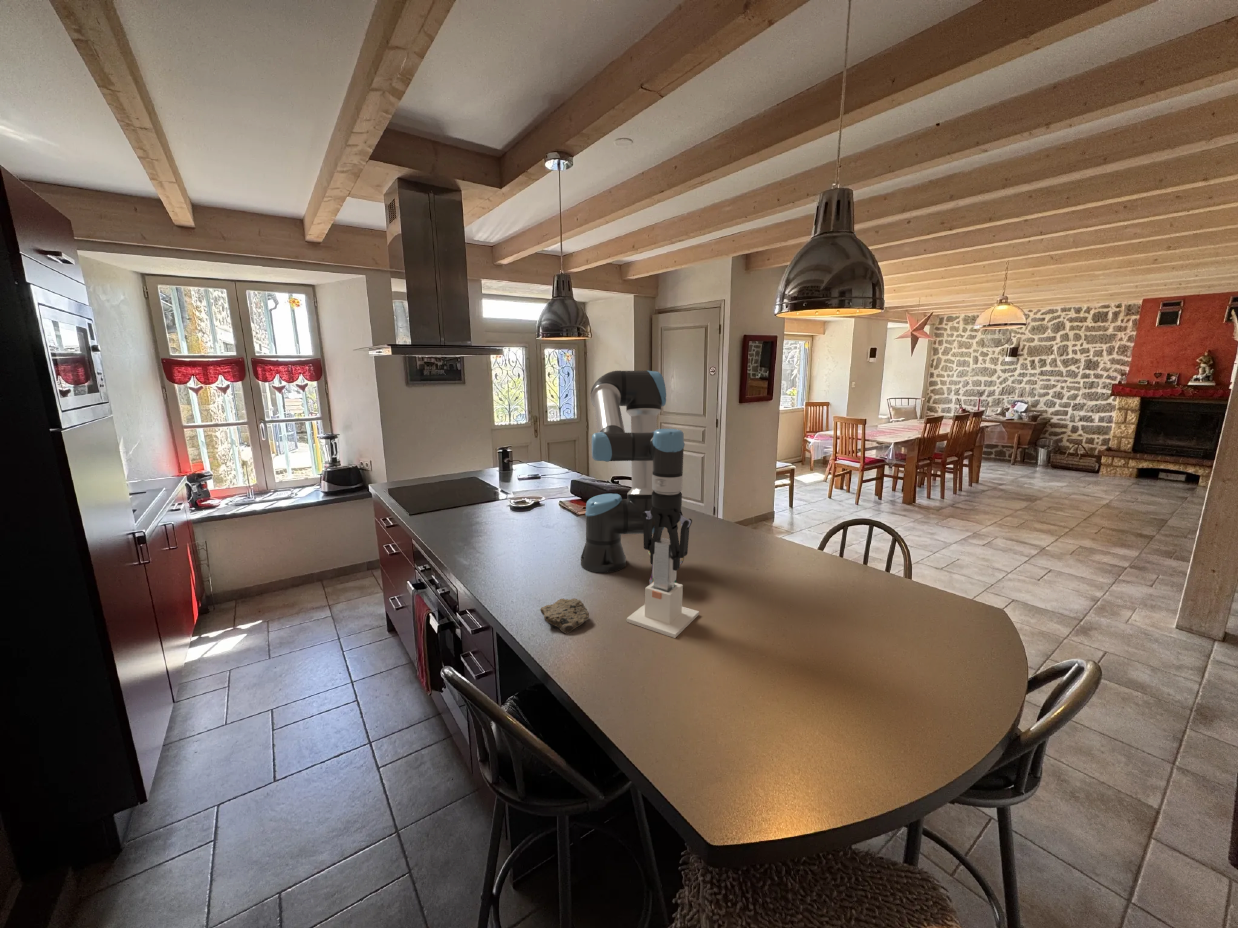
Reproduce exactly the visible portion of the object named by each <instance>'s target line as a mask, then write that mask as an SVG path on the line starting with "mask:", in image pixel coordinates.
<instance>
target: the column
mask: <svg viewBox="0 0 1238 928" xmlns="http://www.w3.org/2000/svg"><path fill="white" fill-rule="evenodd" d="M671 557H672V551H671V544H670V538H666V537H665V538H664V537H661V539H659V540H657V541H656V542H655V554H654V589H657V590H661V591H664V592H668V593H669V592H670V591H671V590H672V589H674V587H675V581H674V582H672V583H669V562H670V558H671Z"/></svg>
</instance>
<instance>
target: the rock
mask: <svg viewBox="0 0 1238 928" xmlns="http://www.w3.org/2000/svg"><path fill="white" fill-rule="evenodd" d="M539 611H540V613H541V615H542V616H543V618H544V620H545V621H546V622H547V623H549V624H551V625H553V626H555V627H557V628H558V629H559V630H560V631H561V632H562V633H565V634H569V633H571V632H572V631H573V630H575V629H577V628H578V627H579V626H581V625H582V624H584V622H586V621H587V620H588V619H589V618H590V612H589V611H588V609H587V607H586V605H585V604H584V603H583V601H581V600H580V599H578V598H574V597H573V598H571V599H568V598H567V599H565V598H559V599H558V600H556V601H555V602H554V603H553V604H546V605H545V606H541V607H540V610H539Z"/></svg>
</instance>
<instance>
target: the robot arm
mask: <svg viewBox="0 0 1238 928" xmlns="http://www.w3.org/2000/svg"><path fill="white" fill-rule="evenodd" d="M666 388H667V387H666V384H665V380H664V376H663V375H662V373H661V372H660V371H655V370H648V369H647V370H612V371H609V372H607V373H605V374H603V375H601V376H600V377H599V378H598V379H597V380H596V381H595V383H593V385H592V387H591V390H590V403H591V405H592V406H593V407H594V411H595V420H596V421H595V422H596V430H597V432H594V433H593V434H592V435H591V458H592V459H593V460H594V461H597V462H607V463H608V462H624V461H625V462H631V489H630V490H629V491H628V492H627V494H626V495H627V496H626V497H627V498H622V495H620V494H618V493H602V494H598V495H595V496H593V497H591V498H589V499H588V500H587V501H586V505H585V512H584V513H585V514H584V515H585V543H584V544H585V545H584V547H583V550H582V552H581V555H580V566H581V567H582V568H583V569H585V570H586V571H589V572H593V573H603V574H604V573H613V572H618V571H620V570H622V569H624V568H625V567H626V564H627V561H626V560H627V557H626V555H625V551H624V548H623V544H622V535H643V549H644V550H647V552H648V551H650V556H649V558H650V559H649V561H650V562H649V563H650V565H651V566H652V565H653V578H654V554H655V542H656V541H657V540H659V539H661V538H662V535H663V531H664V529H665V528H666V530H667V533H668V537H669V538H668V539H670V544H671V551H672V557H671V558H670V562H669V583H672V582H674V581H675V580H676V581H677V571H679V569H680V567H681V566H680V562H681V559H682V558H683V557H684V558H685V557H686V556H687V555H688V551H689V538H690V528H691V525H692V523H693V519H692V518H687V517H685V516H683V512H682V506H683V505H682V503H683V493H682V491H683V475H684V474H683V472H684V450H685V439H684V434H685V433H684V432H683V431H682V430H680V429H676V428H658V426H657V425H658V424H657V423H658V419H657V417H658V415H659V414H660V413H661V412H662V407H664V406H666V403H667V389H666ZM621 407H626V408H625V409H626V413H627V414H628V415H629V416H630V431H631V432H626V430H625V427H624V426H625V425H624V421H623V417H622V412H621V411H622V410H621ZM657 428H658V429H657ZM679 522H680V526H681V528H680V533H679V534H680V535H679V534H678V532H679V531H678V529H679V526H678V524H679Z"/></svg>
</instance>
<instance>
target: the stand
mask: <svg viewBox="0 0 1238 928" xmlns="http://www.w3.org/2000/svg"><path fill="white" fill-rule="evenodd" d="M644 588H645V589H644V604H643V605H642V606H640V607H639V608H638V609H636V610H635V611H634V612H632V614H630V615H629V616H627V617H626V622H627V623H629V624H631V625H634V626H638V627H642V628H644V629H646V630H649V631H652V632H656V633H658V634H661V635H664V636H667V637H670V638H674V639H676V637H678V636H679V635H680V634H681V633H682V632H683V631H684V630H686V628H687V627H688V626H689V625H690V624H691V623H692V622H693V621H694V620H695V619H696V618H698V616H699V615H700V611H699V610H696V609H693V608H689V607H686V606H683V593H684V592H683V590H684V589H683V588H684V585H683V584H682V583H678V582H677V583H675V587H674V589H672V590H671V591H670V592H669V593H668V592H664V591H661V590H657V589H654V582H653V583H651V584H649V585H647V586H646V587H644Z"/></svg>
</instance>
